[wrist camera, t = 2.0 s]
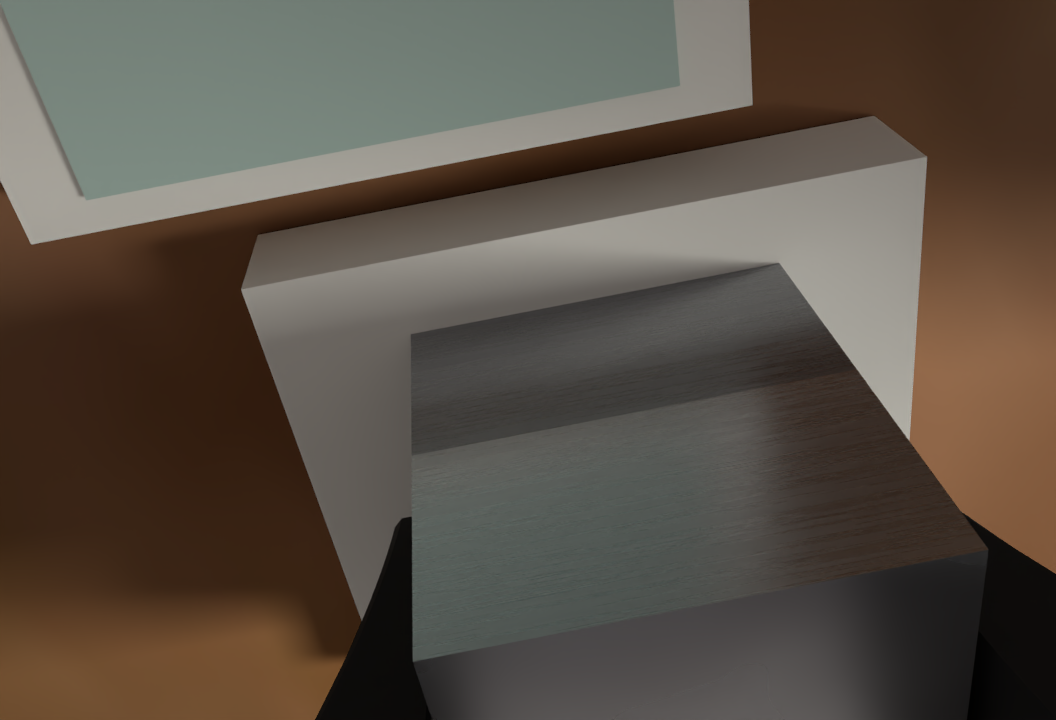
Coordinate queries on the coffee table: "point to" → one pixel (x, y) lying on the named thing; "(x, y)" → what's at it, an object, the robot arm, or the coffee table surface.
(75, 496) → the coffee table surface
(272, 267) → the stand
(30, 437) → the coffee table surface
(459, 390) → the block
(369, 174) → the stand
